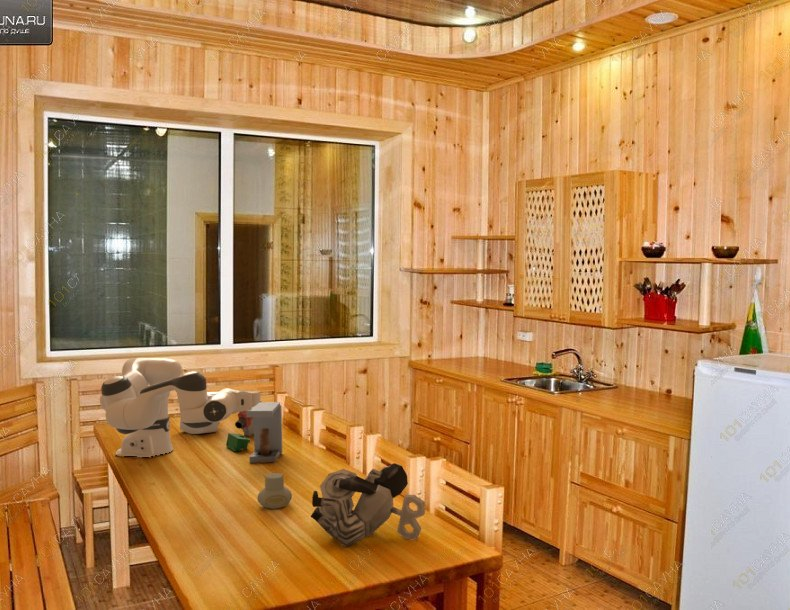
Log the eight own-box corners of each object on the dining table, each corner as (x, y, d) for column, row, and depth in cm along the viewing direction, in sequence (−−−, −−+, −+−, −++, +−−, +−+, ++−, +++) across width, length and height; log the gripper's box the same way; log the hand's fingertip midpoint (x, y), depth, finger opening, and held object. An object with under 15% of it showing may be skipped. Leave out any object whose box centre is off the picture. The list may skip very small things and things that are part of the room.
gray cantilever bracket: (246, 465, 283) (245, 411, 281) (255, 453, 299) (254, 402, 297) (275, 465, 283) (273, 410, 281) (282, 453, 299) (281, 402, 297)
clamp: (245, 460, 305) (252, 442, 303) (231, 459, 302) (239, 441, 300) (238, 443, 315) (245, 425, 312) (224, 442, 312) (231, 424, 309)
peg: (259, 460, 289) (258, 430, 288) (261, 458, 292) (260, 428, 292) (268, 460, 289) (267, 430, 288) (270, 458, 292) (269, 428, 291)
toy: (298, 524, 219) (373, 471, 236) (367, 593, 201) (443, 530, 218) (293, 476, 207) (372, 424, 224) (366, 545, 189) (447, 482, 205)
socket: (249, 463, 286) (249, 456, 286) (255, 455, 296) (255, 449, 296) (275, 463, 286) (275, 456, 285) (279, 455, 296) (279, 449, 295)
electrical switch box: (226, 433, 341) (229, 390, 342) (202, 436, 329) (205, 391, 330) (203, 430, 349) (207, 387, 350) (179, 432, 337) (183, 388, 338)
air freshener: (258, 512, 232) (258, 481, 231) (256, 503, 240) (255, 473, 239) (293, 508, 235) (292, 477, 234) (290, 500, 243) (289, 470, 242)
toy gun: (238, 445, 325) (232, 415, 319) (258, 420, 342) (252, 392, 337) (246, 445, 324) (240, 416, 318) (266, 421, 341) (260, 393, 336)
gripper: (197, 410, 256) (208, 402, 270) (255, 410, 256) (263, 402, 270) (196, 392, 256) (207, 385, 270) (255, 392, 255) (263, 385, 269)
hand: (236, 393), depth 270 cm, fingers open, 8 cm apart
